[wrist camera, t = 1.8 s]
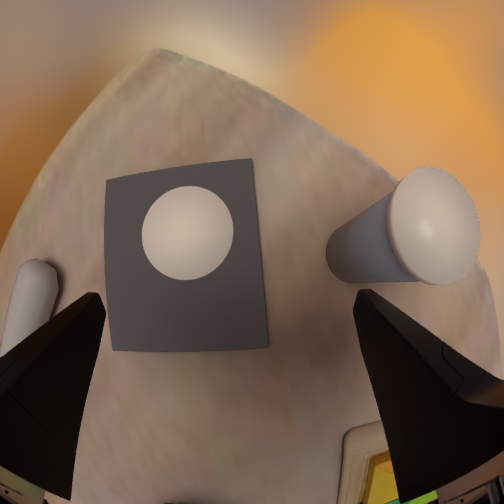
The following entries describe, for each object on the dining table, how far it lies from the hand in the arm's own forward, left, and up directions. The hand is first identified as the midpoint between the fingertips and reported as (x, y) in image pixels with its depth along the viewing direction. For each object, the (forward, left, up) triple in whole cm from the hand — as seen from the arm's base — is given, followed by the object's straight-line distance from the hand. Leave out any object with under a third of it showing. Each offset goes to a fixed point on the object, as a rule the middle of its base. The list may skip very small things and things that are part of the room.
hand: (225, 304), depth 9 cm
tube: (-7, +26, -15) cm, 31 cm away
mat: (+3, +5, -14) cm, 15 cm away
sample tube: (+2, -10, -14) cm, 17 cm away
